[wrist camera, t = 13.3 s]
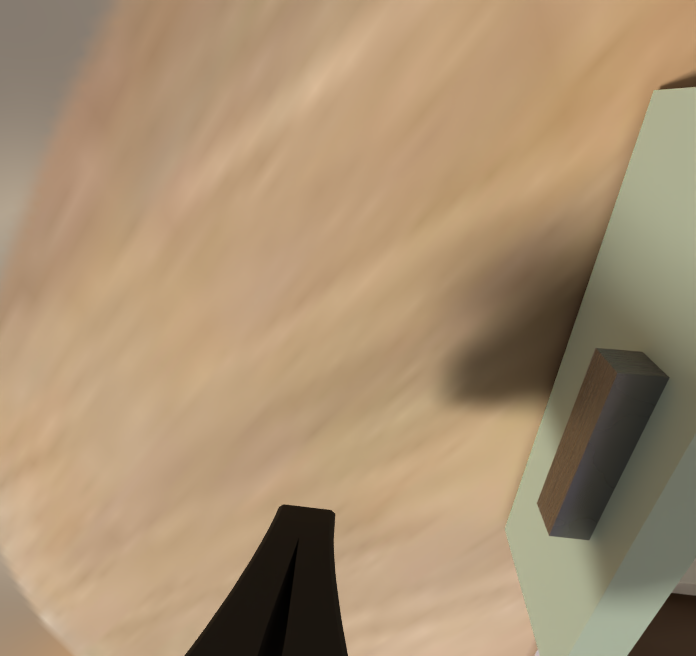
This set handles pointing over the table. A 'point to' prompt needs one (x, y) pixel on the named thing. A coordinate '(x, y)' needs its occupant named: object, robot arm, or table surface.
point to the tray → (621, 418)
